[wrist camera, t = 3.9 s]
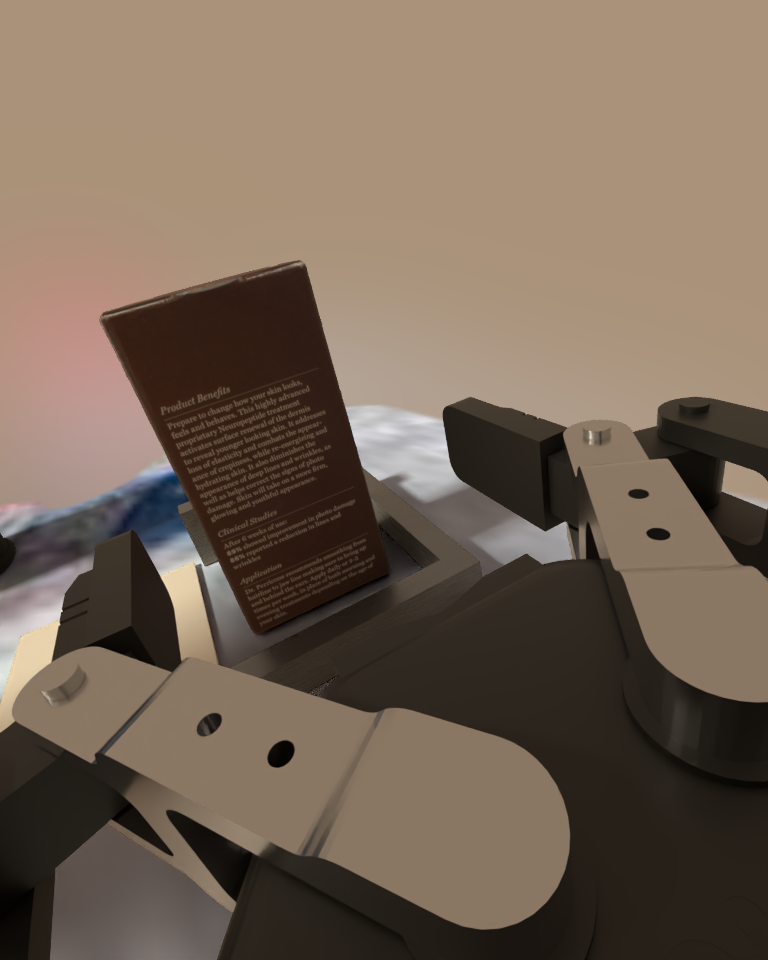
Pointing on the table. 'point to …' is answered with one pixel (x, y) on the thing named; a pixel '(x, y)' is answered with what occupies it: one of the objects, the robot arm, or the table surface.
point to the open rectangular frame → (405, 601)
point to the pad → (189, 622)
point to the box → (256, 435)
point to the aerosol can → (6, 552)
